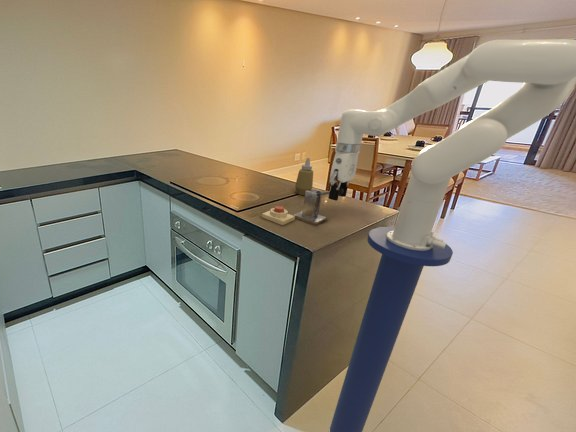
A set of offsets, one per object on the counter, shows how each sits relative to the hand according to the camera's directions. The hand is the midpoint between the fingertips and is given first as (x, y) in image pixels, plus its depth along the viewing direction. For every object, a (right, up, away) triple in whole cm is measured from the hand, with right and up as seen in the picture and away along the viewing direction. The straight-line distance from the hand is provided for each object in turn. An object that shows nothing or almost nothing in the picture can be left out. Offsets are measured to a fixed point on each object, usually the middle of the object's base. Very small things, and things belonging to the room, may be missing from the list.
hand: (337, 197), depth 108 cm
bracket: (-6, -8, +11) cm, 15 cm away
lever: (-2, 0, +3) cm, 4 cm away
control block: (-19, -8, +11) cm, 23 cm away
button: (-19, -5, +10) cm, 22 cm away
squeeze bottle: (+2, +4, +40) cm, 40 cm away
